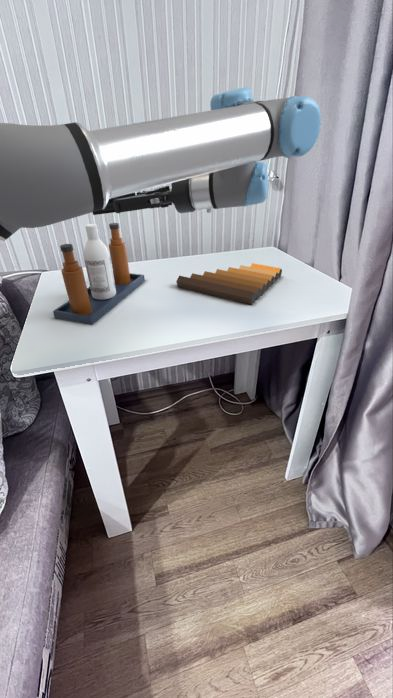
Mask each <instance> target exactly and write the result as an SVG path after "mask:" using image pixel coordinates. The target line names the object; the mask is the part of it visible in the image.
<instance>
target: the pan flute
mask: <svg viewBox="0 0 393 698" xmlns="http://www.w3.org/2000/svg"><path fill="white" fill-rule="evenodd" d="M282 274H283V269H282V268H281V267H276V266H270V265H264V264H259V263H255V262H252V263H251V265H250V266H248V265H242V264H240V266H239V268H236V267H230V266H229V267H228V268H227V270H224V269H219V268H217V269H216V270H215V272H211V271H206V270H205V271H204V272H203V274H202V275H201V274H198V273H193V272H192V273H191V275H190V276H189V277H188V276H185V275H184V276H183V275H178V277H177V279H176V281H175V282H176V284H177V287H178V288H180V289H184V290H187V291H188V290H189V291H193V292H197V293H201V294H205V295H210V296H213V297H218V298H222V299H226V300H230V301H233V302H238V303H242V304H246V305H251V306H252V305H253V304H255V302H256V301H258V300H259V299H260V298H261V296H263V295H264V294H265V292H267V291H268V290H269V289H270V288H271V287H272V286H273V285H274V284H276V282H278V280H280V279H281V277H282Z"/></svg>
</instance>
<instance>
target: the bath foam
mask: <svg viewBox="0 0 393 698" xmlns="http://www.w3.org/2000/svg"><path fill="white" fill-rule="evenodd" d="M84 226H85V231H86V237H87V241H86V243H85V246H84V249H83V260H84V265H85V269H86V270H85V271H86V274H87V279H88V283H89V287H90V289H91V293H92V297H93V298H94V299H97V300H107V299H110V298H113V297H114V296H115V295H116V288H115V282H114V276H113V269H112V263H111V257H110V251H109V248H108V246H106V244H105V243H104V242H103V240H101V238H100V236H99V235H100V234H99V229H98V224H97V223H87V224H85V225H84Z"/></svg>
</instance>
